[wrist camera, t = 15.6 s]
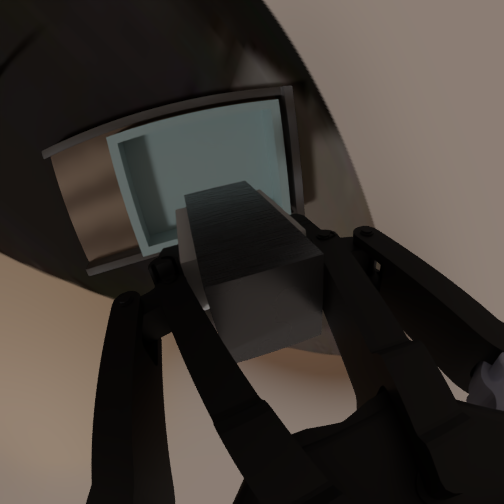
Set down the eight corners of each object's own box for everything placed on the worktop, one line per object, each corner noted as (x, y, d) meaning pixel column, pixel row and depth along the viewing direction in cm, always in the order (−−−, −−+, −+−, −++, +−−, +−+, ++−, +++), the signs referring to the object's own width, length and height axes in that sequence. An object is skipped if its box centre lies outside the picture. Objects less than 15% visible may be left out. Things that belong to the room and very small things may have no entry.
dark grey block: (184, 195, 16) (203, 288, 8) (245, 180, 17) (323, 253, 9) (198, 249, 19) (228, 365, 10) (253, 234, 19) (320, 334, 11)
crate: (113, 134, 25) (106, 137, 22) (265, 100, 28) (278, 99, 25) (145, 241, 33) (143, 256, 29) (279, 206, 36) (291, 216, 32)
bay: (51, 147, 24) (38, 152, 21) (278, 87, 29) (292, 85, 26) (93, 264, 33) (87, 280, 30) (292, 209, 38) (304, 220, 35)
